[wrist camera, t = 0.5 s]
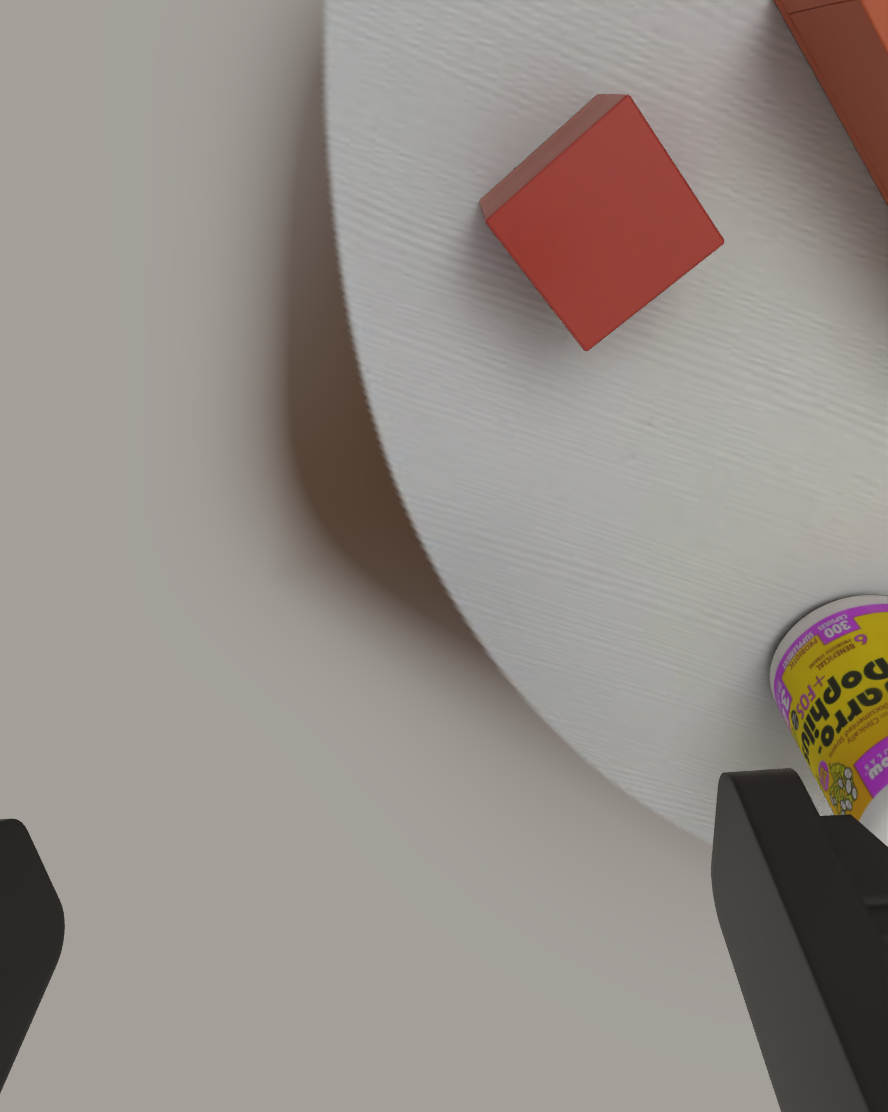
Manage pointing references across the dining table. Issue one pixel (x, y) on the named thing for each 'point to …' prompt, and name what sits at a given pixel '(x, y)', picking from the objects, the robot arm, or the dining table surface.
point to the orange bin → (849, 68)
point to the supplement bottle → (840, 703)
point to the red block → (600, 218)
